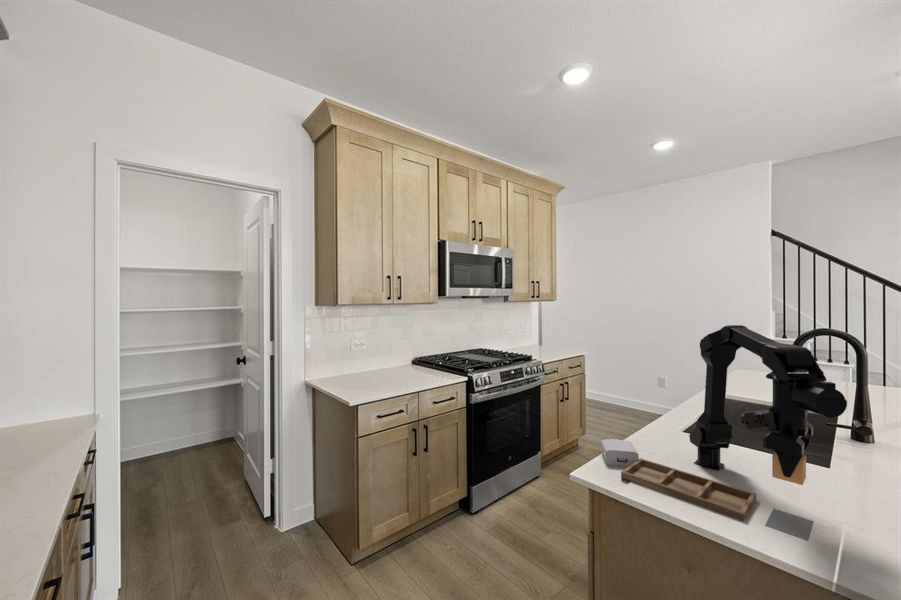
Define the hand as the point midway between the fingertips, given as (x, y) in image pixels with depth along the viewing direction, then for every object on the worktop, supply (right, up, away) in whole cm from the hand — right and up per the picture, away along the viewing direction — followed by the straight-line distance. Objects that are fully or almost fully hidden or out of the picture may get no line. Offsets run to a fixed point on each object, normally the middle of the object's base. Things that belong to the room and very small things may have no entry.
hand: (789, 472), depth 86 cm
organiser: (-14, -12, +16) cm, 24 cm away
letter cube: (0, -1, 0) cm, 1 cm away
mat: (0, -12, 0) cm, 12 cm away
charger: (-22, -12, +38) cm, 45 cm away
